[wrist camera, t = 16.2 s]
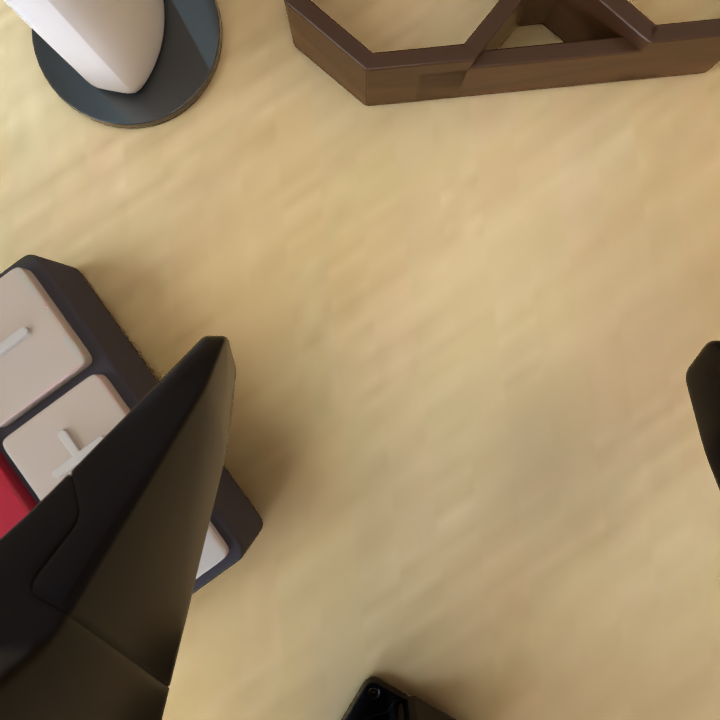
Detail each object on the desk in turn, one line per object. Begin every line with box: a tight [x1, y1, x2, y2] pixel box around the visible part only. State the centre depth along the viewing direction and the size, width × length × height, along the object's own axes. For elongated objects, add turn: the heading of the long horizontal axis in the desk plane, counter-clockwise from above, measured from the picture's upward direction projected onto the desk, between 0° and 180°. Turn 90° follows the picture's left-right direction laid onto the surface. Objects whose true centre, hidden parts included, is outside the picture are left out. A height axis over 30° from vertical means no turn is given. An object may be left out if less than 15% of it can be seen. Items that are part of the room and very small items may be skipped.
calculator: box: [0, 255, 263, 594], centre depth 21 cm, size 11×4×15 cm
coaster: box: [32, 0, 222, 128], centre depth 22 cm, size 8×8×1 cm
